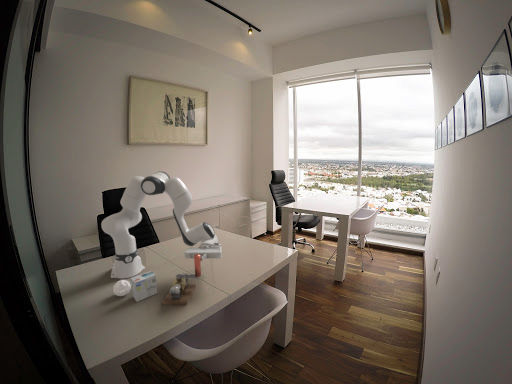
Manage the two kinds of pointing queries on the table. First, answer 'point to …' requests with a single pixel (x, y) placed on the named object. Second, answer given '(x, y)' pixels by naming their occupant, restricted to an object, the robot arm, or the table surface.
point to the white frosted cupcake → (121, 287)
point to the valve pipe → (178, 287)
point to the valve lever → (197, 269)
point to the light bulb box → (144, 285)
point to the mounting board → (184, 296)
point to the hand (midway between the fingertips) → (199, 259)
